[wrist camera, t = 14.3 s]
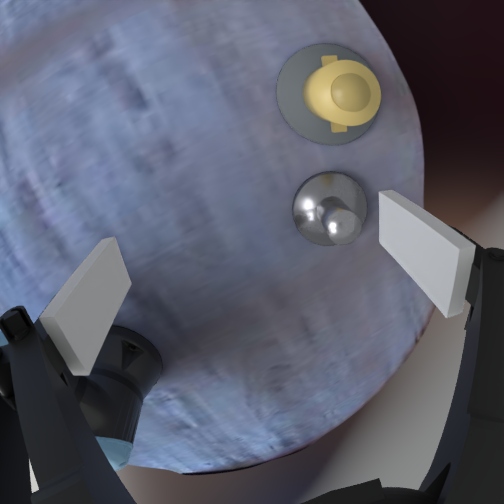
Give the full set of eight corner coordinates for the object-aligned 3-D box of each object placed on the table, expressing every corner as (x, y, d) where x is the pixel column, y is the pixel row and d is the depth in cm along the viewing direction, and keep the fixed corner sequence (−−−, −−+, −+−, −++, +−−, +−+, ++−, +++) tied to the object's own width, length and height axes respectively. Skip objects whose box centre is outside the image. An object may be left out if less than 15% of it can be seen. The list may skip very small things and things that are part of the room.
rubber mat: (381, 140, 37) (383, 141, 36) (284, 149, 37) (285, 150, 37) (369, 44, 31) (372, 43, 30) (268, 49, 31) (268, 47, 31)
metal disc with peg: (364, 236, 43) (383, 260, 36) (296, 247, 43) (305, 273, 37) (362, 167, 38) (384, 181, 32) (288, 176, 39) (297, 192, 32)
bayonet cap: (308, 133, 36) (323, 140, 29) (296, 59, 31) (310, 49, 24) (362, 128, 35) (388, 135, 28) (352, 57, 31) (377, 48, 24)
